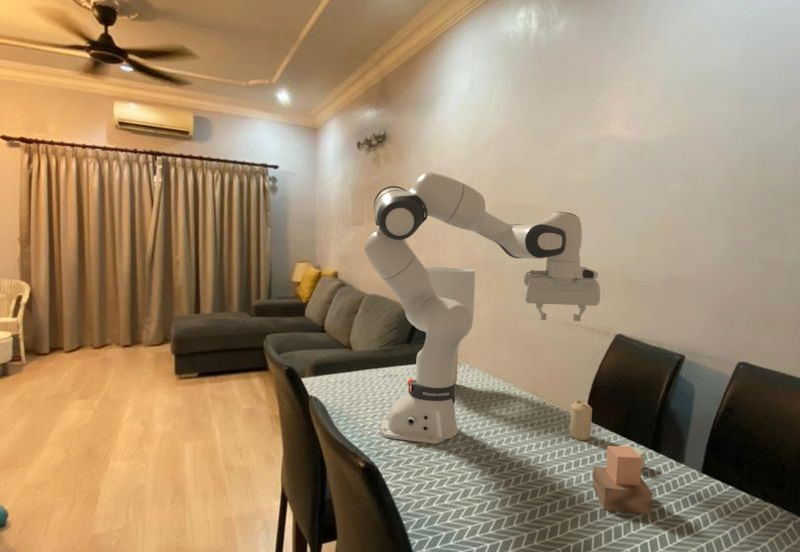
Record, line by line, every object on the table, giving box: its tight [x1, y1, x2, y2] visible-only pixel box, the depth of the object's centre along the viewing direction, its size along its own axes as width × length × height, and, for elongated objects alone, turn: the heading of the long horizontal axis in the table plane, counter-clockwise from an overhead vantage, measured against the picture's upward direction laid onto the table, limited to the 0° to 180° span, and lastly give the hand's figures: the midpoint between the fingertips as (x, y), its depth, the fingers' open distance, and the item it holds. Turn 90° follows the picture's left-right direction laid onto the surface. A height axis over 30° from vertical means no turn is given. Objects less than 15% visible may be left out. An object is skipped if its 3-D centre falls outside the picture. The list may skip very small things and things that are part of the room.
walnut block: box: [591, 465, 653, 515], centre depth 96 cm, size 9×9×5 cm
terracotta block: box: [605, 445, 642, 485], centre depth 96 cm, size 5×5×6 cm
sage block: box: [622, 444, 647, 470], centre depth 111 cm, size 5×5×4 cm
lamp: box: [425, 267, 476, 383], centre depth 169 cm, size 23×23×44 cm
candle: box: [569, 400, 593, 441], centre depth 128 cm, size 6×6×10 cm
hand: (559, 320), depth 125 cm, fingers open, 8 cm apart
